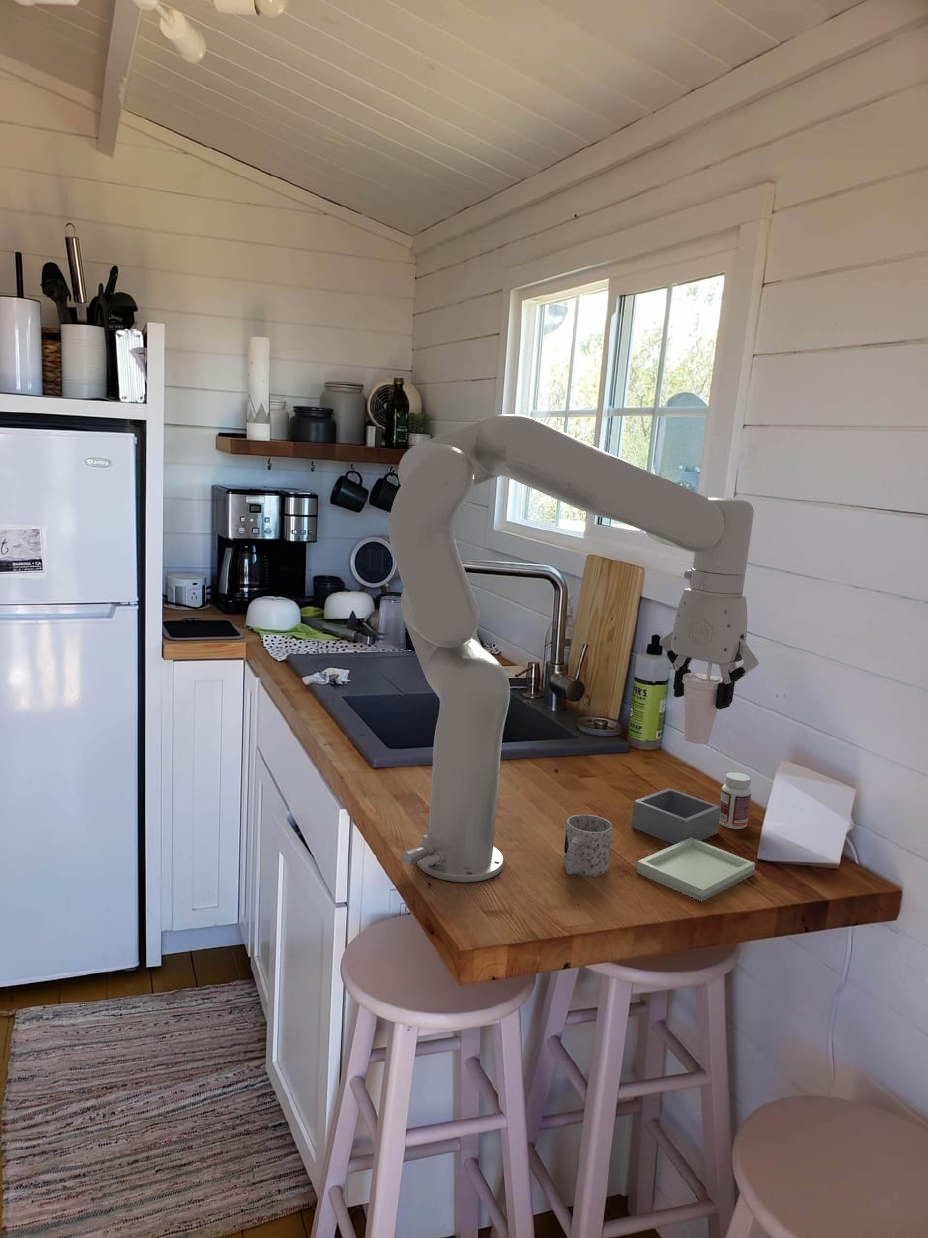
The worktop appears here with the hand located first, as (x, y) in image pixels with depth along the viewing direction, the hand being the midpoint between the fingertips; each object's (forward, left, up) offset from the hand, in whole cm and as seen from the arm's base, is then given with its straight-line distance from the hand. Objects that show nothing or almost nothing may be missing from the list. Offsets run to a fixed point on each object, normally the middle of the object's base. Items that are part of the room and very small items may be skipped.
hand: (701, 700), depth 143 cm
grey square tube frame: (+6, +6, -24) cm, 25 cm away
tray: (-5, -5, -24) cm, 25 cm away
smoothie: (0, 0, -6) cm, 6 cm away
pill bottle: (+16, +1, -24) cm, 29 cm away
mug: (-18, +6, -24) cm, 31 cm away
